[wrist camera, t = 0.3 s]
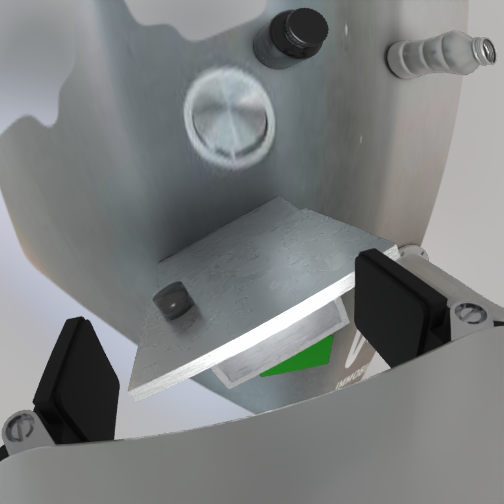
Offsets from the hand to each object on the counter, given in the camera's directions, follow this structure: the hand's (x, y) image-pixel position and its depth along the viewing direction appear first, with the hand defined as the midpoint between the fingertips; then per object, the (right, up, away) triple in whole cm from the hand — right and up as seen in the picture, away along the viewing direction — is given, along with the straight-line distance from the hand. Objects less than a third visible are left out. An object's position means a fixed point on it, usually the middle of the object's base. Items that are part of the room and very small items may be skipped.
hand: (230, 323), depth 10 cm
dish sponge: (+8, -16, +49) cm, 52 cm away
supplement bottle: (+4, +31, +28) cm, 42 cm away
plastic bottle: (+25, +34, +32) cm, 53 cm away
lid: (0, -1, +17) cm, 18 cm away
